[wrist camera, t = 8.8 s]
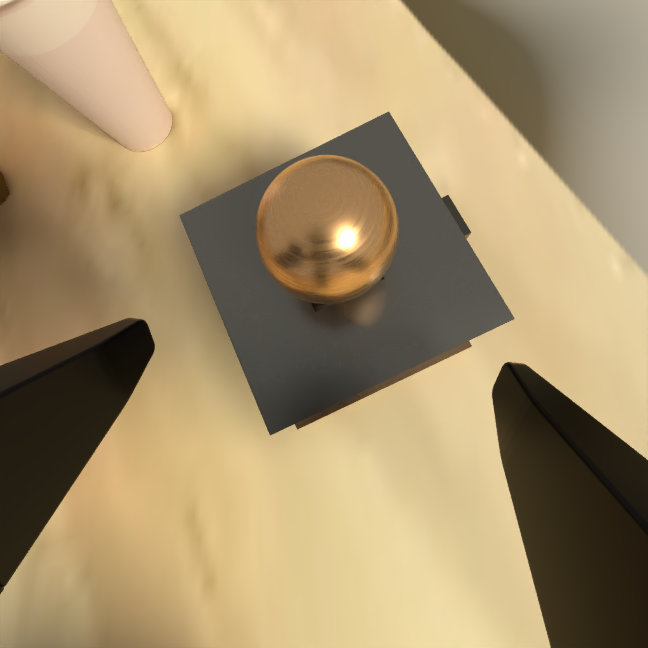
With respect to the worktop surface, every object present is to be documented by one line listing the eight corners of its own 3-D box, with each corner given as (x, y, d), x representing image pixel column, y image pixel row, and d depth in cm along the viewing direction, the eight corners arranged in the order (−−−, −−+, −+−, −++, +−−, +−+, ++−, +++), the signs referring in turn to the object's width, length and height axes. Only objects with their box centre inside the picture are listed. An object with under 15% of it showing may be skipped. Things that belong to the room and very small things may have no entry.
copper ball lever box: (301, 426, 16) (261, 458, 10) (234, 272, 18) (161, 209, 11) (470, 345, 16) (549, 321, 10) (386, 197, 18) (403, 90, 11)
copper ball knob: (312, 383, 15) (244, 389, 6) (264, 276, 16) (145, 147, 7) (425, 329, 15) (527, 252, 6) (369, 225, 16) (382, 28, 7)
